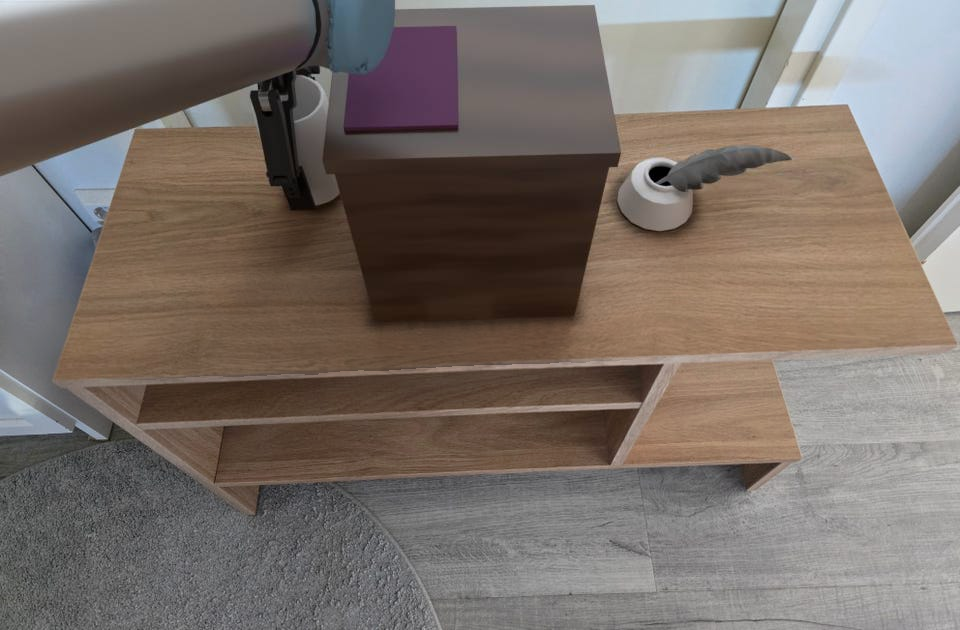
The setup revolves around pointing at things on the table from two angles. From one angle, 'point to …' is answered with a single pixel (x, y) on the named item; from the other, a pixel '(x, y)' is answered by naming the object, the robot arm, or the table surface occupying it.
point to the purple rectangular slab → (408, 84)
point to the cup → (311, 137)
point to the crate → (485, 172)
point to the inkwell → (683, 183)
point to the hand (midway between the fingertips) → (309, 162)
